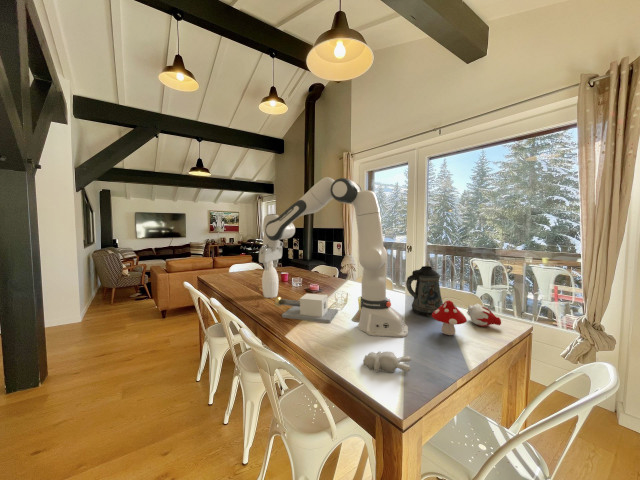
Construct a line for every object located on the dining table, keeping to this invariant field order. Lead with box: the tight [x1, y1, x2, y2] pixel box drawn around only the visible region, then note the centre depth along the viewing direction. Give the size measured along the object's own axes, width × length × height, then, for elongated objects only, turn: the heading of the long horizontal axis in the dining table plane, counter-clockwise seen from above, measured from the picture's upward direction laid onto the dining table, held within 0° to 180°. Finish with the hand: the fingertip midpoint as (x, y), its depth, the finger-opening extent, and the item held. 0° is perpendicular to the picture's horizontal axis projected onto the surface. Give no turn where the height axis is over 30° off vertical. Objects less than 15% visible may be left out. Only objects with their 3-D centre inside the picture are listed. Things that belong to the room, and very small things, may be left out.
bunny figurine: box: [362, 351, 412, 374], centre depth 85 cm, size 10×5×15 cm
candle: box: [466, 303, 502, 328], centre depth 120 cm, size 9×11×15 cm
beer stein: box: [405, 265, 444, 318], centre depth 137 cm, size 16×19×25 cm
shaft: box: [274, 296, 300, 308], centre depth 139 cm, size 18×5×5 cm, turn 72°
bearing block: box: [281, 292, 339, 324], centre depth 136 cm, size 26×16×10 cm, turn 72°
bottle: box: [261, 261, 279, 299], centre depth 171 cm, size 11×11×25 cm
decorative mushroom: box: [431, 300, 468, 336], centre depth 110 cm, size 14×14×15 cm
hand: (270, 268), depth 141 cm, fingers open, 8 cm apart
